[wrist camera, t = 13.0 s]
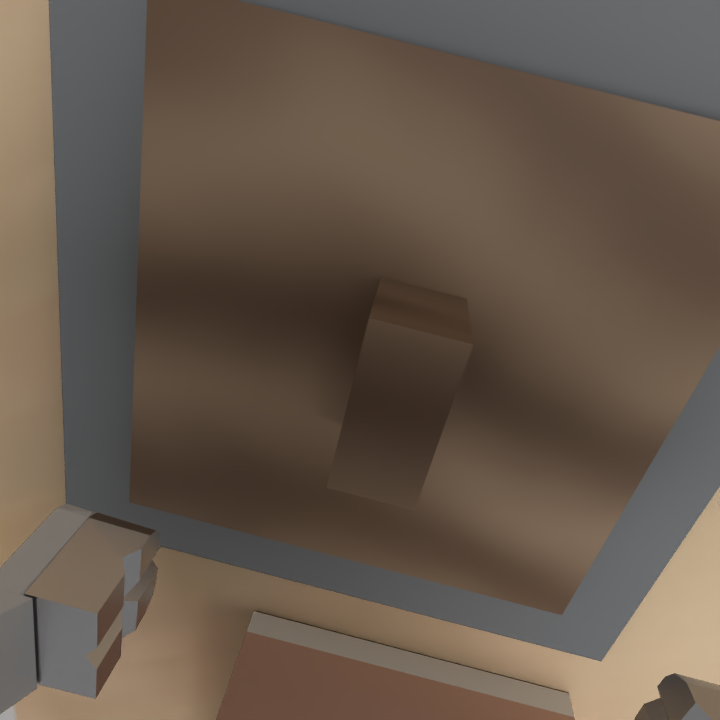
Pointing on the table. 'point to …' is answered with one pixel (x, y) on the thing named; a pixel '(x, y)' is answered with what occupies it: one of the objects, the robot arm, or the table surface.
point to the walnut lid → (410, 297)
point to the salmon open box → (367, 682)
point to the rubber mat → (120, 263)
